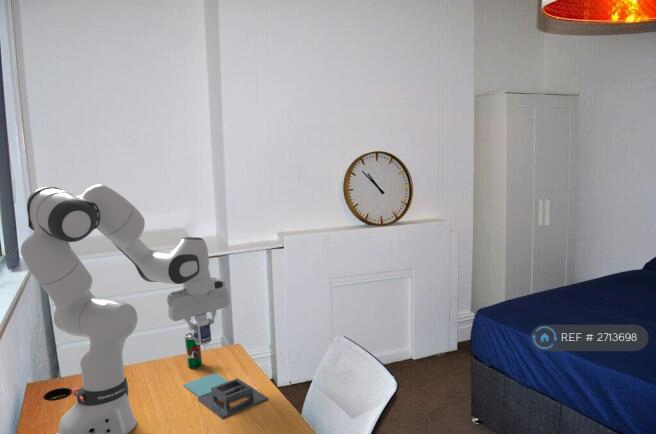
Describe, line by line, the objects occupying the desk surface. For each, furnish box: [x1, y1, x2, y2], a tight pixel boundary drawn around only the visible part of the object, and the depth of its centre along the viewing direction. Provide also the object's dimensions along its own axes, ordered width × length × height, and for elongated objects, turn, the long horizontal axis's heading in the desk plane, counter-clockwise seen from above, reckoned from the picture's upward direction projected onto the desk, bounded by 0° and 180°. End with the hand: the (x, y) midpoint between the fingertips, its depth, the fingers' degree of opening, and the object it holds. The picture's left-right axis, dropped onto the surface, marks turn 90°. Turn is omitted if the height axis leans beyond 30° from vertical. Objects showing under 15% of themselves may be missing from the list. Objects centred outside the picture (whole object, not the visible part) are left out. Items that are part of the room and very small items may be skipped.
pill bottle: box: [192, 312, 212, 346], centre depth 176 cm, size 5×5×10 cm
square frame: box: [197, 378, 269, 420], centre depth 168 cm, size 16×16×4 cm
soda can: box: [184, 331, 203, 369], centre depth 195 cm, size 5×5×12 cm
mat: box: [182, 372, 230, 398], centre depth 179 cm, size 12×12×1 cm
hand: (201, 326), depth 176 cm, fingers closed on pill bottle, 5 cm apart
